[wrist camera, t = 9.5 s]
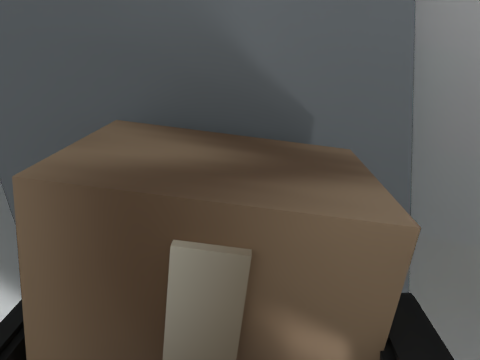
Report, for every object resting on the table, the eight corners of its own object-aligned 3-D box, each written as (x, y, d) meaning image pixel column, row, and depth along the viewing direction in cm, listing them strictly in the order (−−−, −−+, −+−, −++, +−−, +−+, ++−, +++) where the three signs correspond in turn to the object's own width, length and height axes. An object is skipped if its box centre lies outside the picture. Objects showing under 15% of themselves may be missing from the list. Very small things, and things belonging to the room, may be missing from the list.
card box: (350, 149, 10) (426, 233, 5) (292, 410, 13) (311, 602, 8) (116, 119, 10) (3, 181, 5) (112, 388, 13) (37, 569, 8)
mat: (398, 525, 17) (403, 542, 16) (130, 536, 18) (126, 552, 17) (411, -369, 8) (424, -401, 7) (-131, -262, 9) (-156, -283, 8)
